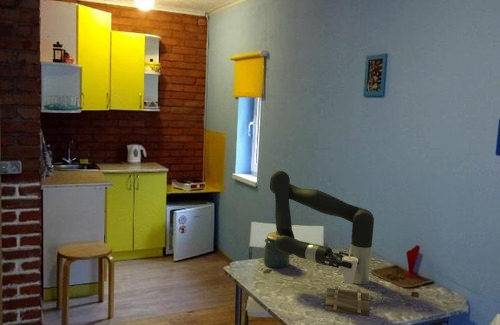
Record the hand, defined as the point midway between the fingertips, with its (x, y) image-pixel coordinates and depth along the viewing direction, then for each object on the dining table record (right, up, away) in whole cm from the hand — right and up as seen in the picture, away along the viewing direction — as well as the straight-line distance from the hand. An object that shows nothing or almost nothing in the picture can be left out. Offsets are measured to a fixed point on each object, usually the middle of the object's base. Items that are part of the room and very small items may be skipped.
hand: (355, 264), depth 192 cm
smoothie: (-2, -8, +2) cm, 9 cm away
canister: (-29, -11, +48) cm, 57 cm away
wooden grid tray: (-3, -17, +4) cm, 18 cm away
